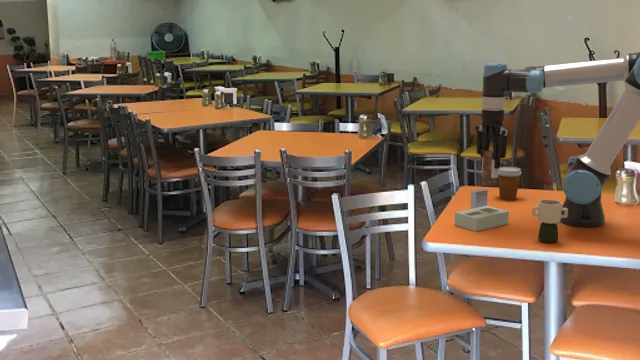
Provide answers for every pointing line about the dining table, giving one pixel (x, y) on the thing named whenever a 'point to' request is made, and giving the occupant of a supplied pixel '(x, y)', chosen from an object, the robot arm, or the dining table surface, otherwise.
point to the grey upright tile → (479, 198)
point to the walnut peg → (488, 169)
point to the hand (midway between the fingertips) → (489, 176)
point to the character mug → (549, 218)
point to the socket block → (481, 218)
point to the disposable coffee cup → (508, 182)
